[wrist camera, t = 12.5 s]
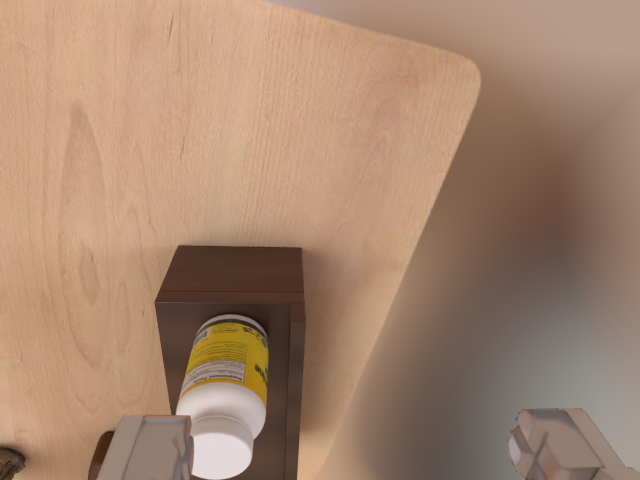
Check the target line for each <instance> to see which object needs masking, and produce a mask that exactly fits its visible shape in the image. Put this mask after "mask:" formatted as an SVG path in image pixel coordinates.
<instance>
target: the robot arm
mask: <svg viewBox="0 0 640 480" xmlns="http://www.w3.org/2000/svg"><path fill="white" fill-rule="evenodd" d="M516 421H517V423H518V426H517V427H516V428H514V429H513V430H511V432H510V435H509V438H508V453H509V456H510V460H511V462H512V465H513V467H514V469H515V471H516V472H518V473H519V474H520V475H521V476H522V477H524V478H525V480H640V473H639V472H638V471H636V470H635V469H633V468H632V467H625V465H624V464H623V462H622V461H621V460H620V458H619V457H618V455H617V454H616V453H615V451H614V450H613V449H612V447H611V446H610V444H609V443H608V442H607V440H606V439H605V437H604V436H603V435H602V434H601V432H600V431H599V429H598V428H597V426H596V425H595V424H594V422H593V421H592V420H591V418H590V417H589V415H588V414H587V413H586V412H585V411H584V410H582V409H581V408H565V409H559V408H546V409H522V410H521V411H520V412H518V414H517V417H516ZM191 427H192V423H191V417H190V415H124V416H123V417H122V418H121V420H120V421H119V423H118V425H117V428H116V430H115V433H114V436H113V438H112V441H111V443H110V446H109V448H108V451H107V453H106V456H105V459H104V461H103V464H102V466H101V469H100V471H99V474H98V477H97V479H96V480H191V475H192V469H193V461H194V439H193V437H192V436H191V435H190V431H191Z"/></svg>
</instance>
